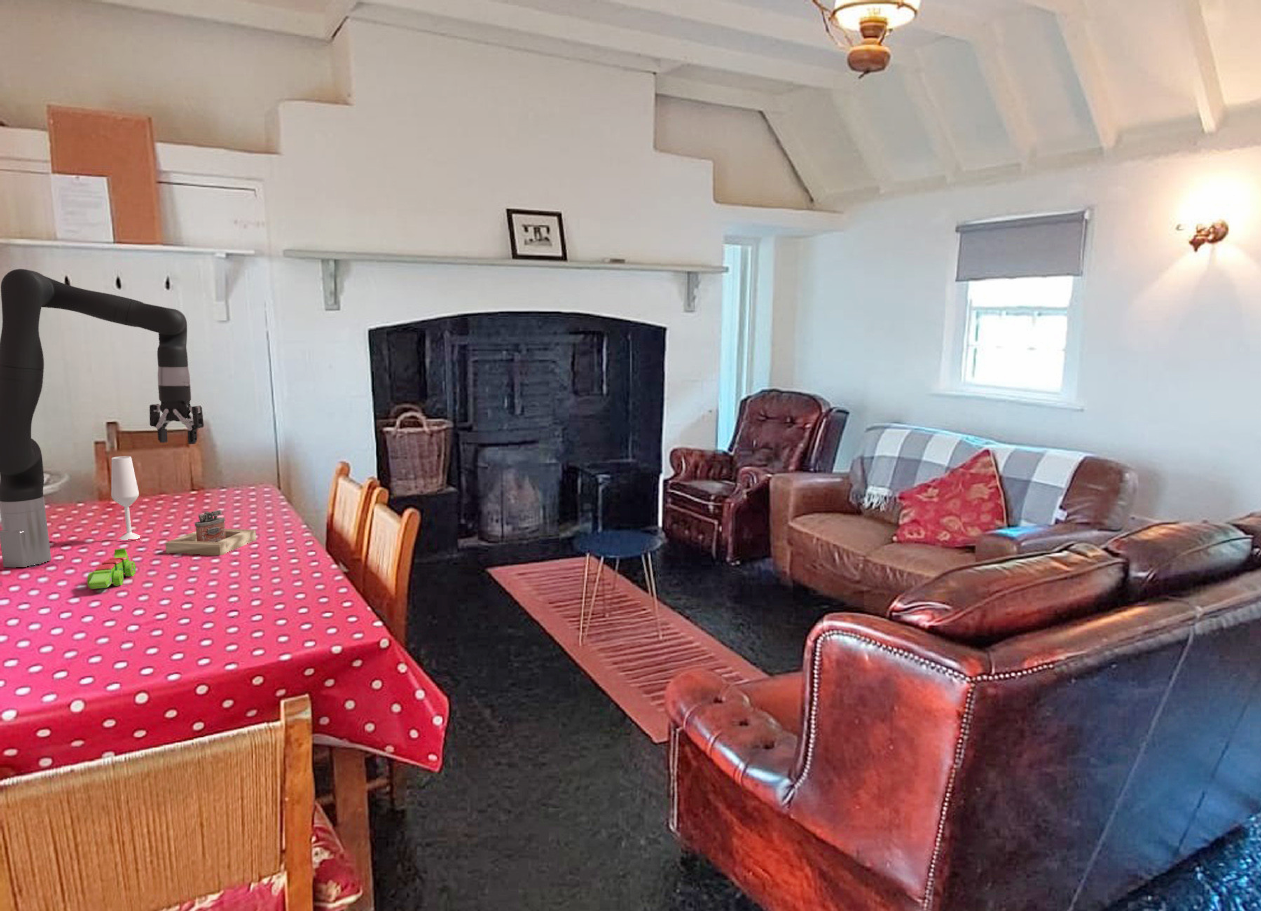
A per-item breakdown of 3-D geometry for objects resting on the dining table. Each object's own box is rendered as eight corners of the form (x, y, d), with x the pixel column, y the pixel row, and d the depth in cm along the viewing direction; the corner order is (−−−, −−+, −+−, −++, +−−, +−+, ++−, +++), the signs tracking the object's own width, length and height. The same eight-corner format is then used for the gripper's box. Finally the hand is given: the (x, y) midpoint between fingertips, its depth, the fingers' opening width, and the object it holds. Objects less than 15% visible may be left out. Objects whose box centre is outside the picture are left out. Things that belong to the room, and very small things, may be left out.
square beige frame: (220, 555, 212) (219, 544, 212) (166, 553, 214) (165, 542, 214) (256, 540, 228) (255, 529, 228) (205, 537, 230) (204, 528, 230)
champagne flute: (121, 543, 224) (112, 460, 221) (112, 539, 228) (103, 457, 225) (147, 538, 230) (139, 457, 226) (137, 534, 234) (129, 454, 230)
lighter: (201, 550, 217) (197, 515, 215) (194, 548, 219) (191, 513, 217) (229, 544, 224) (226, 509, 222) (222, 542, 225) (220, 508, 224)
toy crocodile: (112, 594, 182) (109, 569, 181) (79, 596, 181) (76, 571, 180) (142, 569, 201) (140, 546, 200) (113, 571, 200) (110, 547, 199)
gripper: (139, 383, 210) (144, 443, 212) (188, 385, 208) (192, 446, 210) (160, 382, 217) (164, 440, 219) (207, 383, 215) (211, 442, 218)
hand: (177, 443), depth 215 cm, fingers open, 8 cm apart
